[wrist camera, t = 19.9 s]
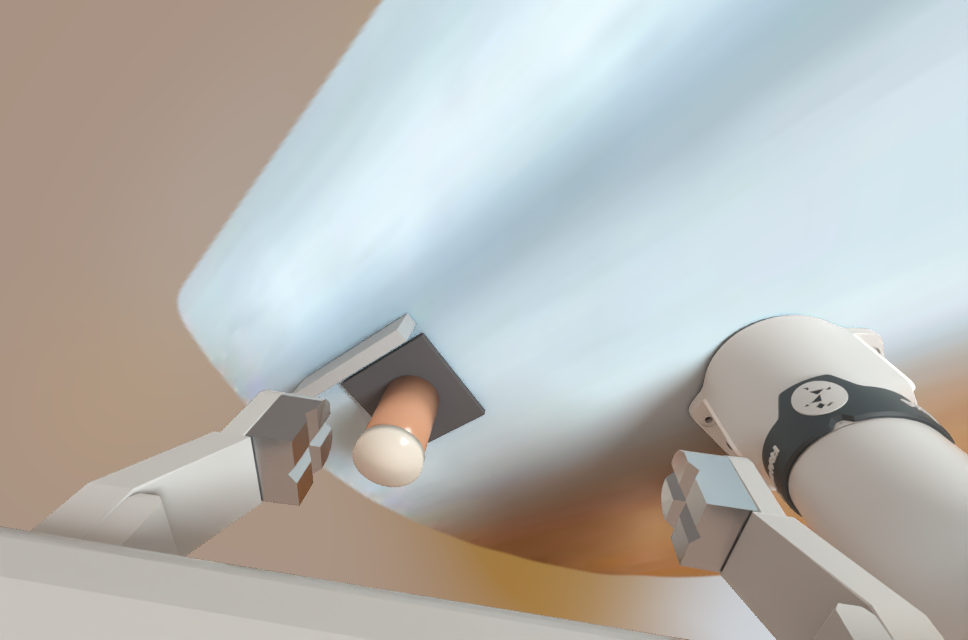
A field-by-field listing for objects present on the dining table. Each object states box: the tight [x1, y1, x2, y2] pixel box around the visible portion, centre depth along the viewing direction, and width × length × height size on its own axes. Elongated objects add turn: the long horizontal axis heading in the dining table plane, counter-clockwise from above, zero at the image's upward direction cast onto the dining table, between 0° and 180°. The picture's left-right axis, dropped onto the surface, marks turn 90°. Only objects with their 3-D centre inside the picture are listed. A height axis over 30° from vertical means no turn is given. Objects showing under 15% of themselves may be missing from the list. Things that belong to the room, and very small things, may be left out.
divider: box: [292, 313, 416, 397], centre depth 49 cm, size 2×16×4 cm, turn 124°
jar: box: [352, 375, 440, 487], centre depth 47 cm, size 7×7×10 cm
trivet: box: [342, 333, 485, 443], centre depth 52 cm, size 12×12×1 cm
